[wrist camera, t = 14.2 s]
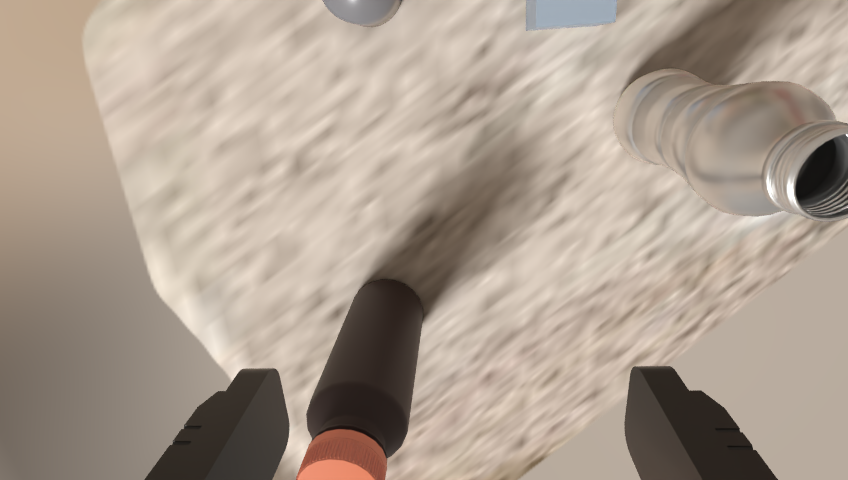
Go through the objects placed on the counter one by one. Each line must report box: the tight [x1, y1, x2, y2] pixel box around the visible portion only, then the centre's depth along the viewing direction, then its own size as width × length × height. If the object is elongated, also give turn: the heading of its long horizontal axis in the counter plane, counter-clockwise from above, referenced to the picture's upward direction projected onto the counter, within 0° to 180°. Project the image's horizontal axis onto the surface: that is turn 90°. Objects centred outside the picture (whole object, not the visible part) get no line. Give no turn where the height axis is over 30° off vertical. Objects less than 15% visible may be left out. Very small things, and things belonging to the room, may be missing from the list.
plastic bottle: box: [613, 68, 848, 222], centre depth 27 cm, size 6×7×20 cm
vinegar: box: [296, 280, 423, 480], centre depth 36 cm, size 7×7×20 cm
